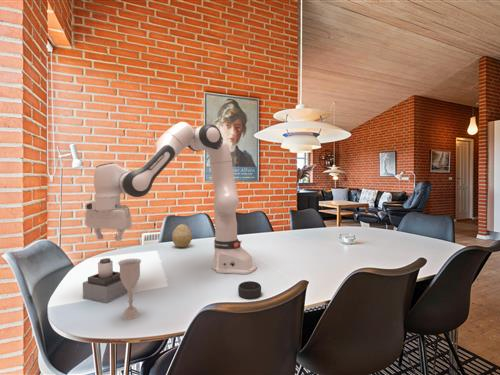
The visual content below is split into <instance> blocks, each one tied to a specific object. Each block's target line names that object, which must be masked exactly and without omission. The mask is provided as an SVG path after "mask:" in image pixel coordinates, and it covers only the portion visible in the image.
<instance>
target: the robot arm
mask: <svg viewBox="0 0 500 375" xmlns="http://www.w3.org/2000/svg"><path fill="white" fill-rule="evenodd" d="M154 148H155V149H154V150H155V153H154V155H152V156H151V157H150V158H149V159H148V161H147V162H146V163H145V164H144V165H143V166H141V168H138V169H136V170H135V169H134V170H130V169H127V168H124V167H122V166H120V165H119V164H117V163H116V162H109V163H108V162H107V163H102V164H99V165H97V166H96V167H95V169H94V172H93V188H94V190H95V192H94V193H95V194H94V200H92V201H91V202H87V203H86V204H85V205H84V209H85V210H86V211H85V214H84V215H85V216H84V217H85V219H84V220H85V226H86V227H87V228H90V229H93V232H94V233H95V235H96V240H104V234H102V231H101V230H102V229H104V230H116V232H117V234H116V236H115V241H116V242H120V241H122V239H123V237H122V236H123V234H124V232H125V231H126V230H129V229H131V228H132V226H133V223H132V215H131V211H130V208H129V207H128V206H127V205H126V204H121V194H125V195H128V196H131V197H134V198H141V197H144V196H146V195H148V193H149V192H150V191H151V189H152V186H153V185H154V182H155V179H156V178H157V177H158V176H159V175H160V174H161V173H162V171H163V170H164V169H165V168H166V167H167V166H168V165H169V164H170V163H171V162H172V161H173V160H174V159H175V158H177V157H178V156H179V155H180V154H182V152H184V151H185V149H186V148H189V150H191V151H193V152H203V151H206V153H207V155H208V158H209V167H210V174H211V176H210V177H211V181H212V185H213V192H214V197H213V214H214V216H213V217H214V232H215V233H214V235H215V236H214V238H215V239H213V240H214V245H213V246H214V256H213V257H214V258H213V263H212V269H213V270H214V271H215V273H218V274H233V275H235V274H236V275H237V274H238V275H248V274H252V273H253V272H255V270H257V268H258V265H257V264H256V263H254V262H253V257H252V255H251V254H250V253H249V252H248V251H246V250H245V249H244V248H243V247H242V246H241V244H242V243H243V242H242V241H243V240H239V239H238V221H237V217H236V215H237V214H236V211H237V210H238V208H239V207H240V199H239V193H238V187H237V185H236V180H235V175H234V174H235V172H234V166H233V159H232V153H231V150H230V147H229V143H227V142H226V141H225V140H224V139H223V136H222V132H221V131H220V128H218V127H217V125H215V124H204V125H201V126H198V127H197V128H194V127H192V125H191V124H189V123H188V122H186V121H179V122H178V123H175V124H174V125H173V126H170V127H169V128H168V129H166V131H165V132H164V133H163V134H161V136H159V138H158V139H157V140H156V142H155V143H154Z"/></svg>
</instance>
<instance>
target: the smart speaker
mask: <svg viewBox="0 0 500 375" xmlns="http://www.w3.org/2000/svg"><path fill="white" fill-rule="evenodd" d="M237 293H238V296H239V297H241V298H242V299H247V300H249V299H250V300H251V299H257V298H259V297H260V296H261V295H262V286H261V284H260V283H259V282H257V281H249V280H248V281H243V282H240V283H239V284H238V287H237Z"/></svg>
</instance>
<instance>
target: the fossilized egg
mask: <svg viewBox="0 0 500 375" xmlns="http://www.w3.org/2000/svg"><path fill="white" fill-rule="evenodd" d="M192 239H193V233H192V231H191V229H190V228H189V226H187V225H186V224H184V223H181V224H178V225H177V226H176V227H175V228H174V230H173V232H172V234H171V240H172V243H173V244H174V246H176V247H177V248H185V247H187V246H189V245H190V244H191V242H192Z"/></svg>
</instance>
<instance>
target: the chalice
mask: <svg viewBox="0 0 500 375" xmlns="http://www.w3.org/2000/svg"><path fill="white" fill-rule="evenodd" d="M141 262H142V259H140V258H126V259H121V260H119V261H118V262H117V265H119V272H120V279H121V281H122V283H123V285H124V287H125V288H126V289H127V290H128V295H127V297H128V300H127V302H128V307H127V308H125V310H124V312H123V315H122V318H123V319H124V320H131V319H135V318H137V317H139V315H140V312H139V311H138V308H137V307H136V306H133V302H134V299H133V297H134V294H133V290H135V289H136V286H137V284H138V282H139V280H140V276H141Z"/></svg>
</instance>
